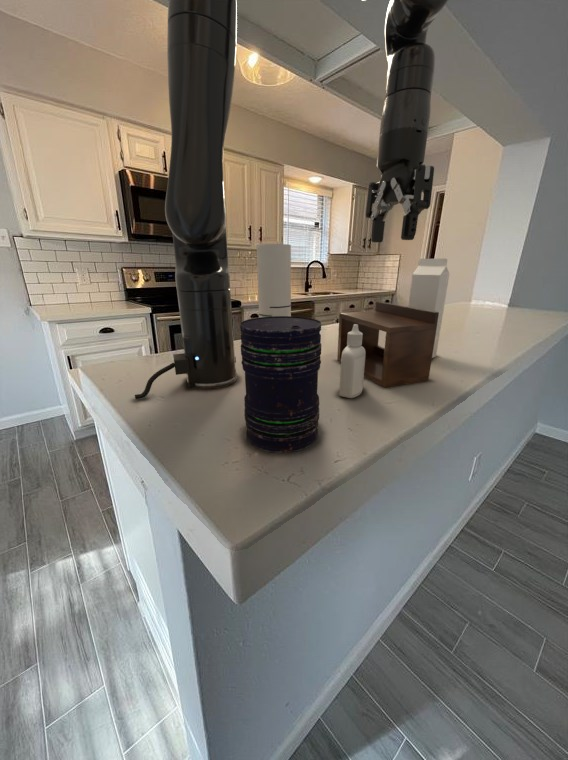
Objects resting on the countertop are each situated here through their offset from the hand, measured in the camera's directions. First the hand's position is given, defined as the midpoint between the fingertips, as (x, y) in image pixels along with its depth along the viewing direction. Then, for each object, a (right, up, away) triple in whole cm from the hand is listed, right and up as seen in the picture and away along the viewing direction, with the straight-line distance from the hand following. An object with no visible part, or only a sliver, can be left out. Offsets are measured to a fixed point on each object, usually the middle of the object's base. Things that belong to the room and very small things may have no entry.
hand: (391, 241), depth 58 cm
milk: (+13, -20, +19) cm, 30 cm away
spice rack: (+1, -23, +10) cm, 25 cm away
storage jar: (-20, -33, -15) cm, 41 cm away
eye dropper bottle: (-8, -28, -2) cm, 29 cm away
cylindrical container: (-21, -21, +18) cm, 35 cm away
